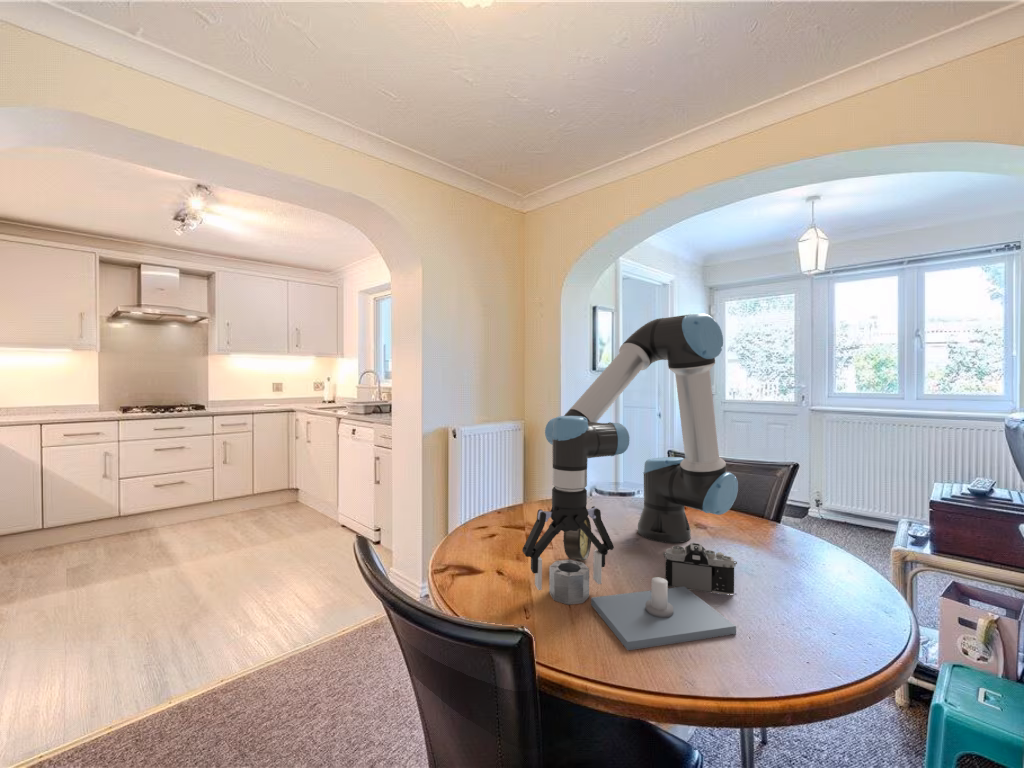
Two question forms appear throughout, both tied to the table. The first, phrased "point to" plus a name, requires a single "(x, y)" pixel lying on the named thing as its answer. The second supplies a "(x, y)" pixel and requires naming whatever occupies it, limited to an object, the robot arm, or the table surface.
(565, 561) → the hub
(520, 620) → the table surface
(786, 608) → the table surface
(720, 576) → the camera
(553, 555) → the table surface
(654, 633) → the shaft block
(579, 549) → the alarm clock
